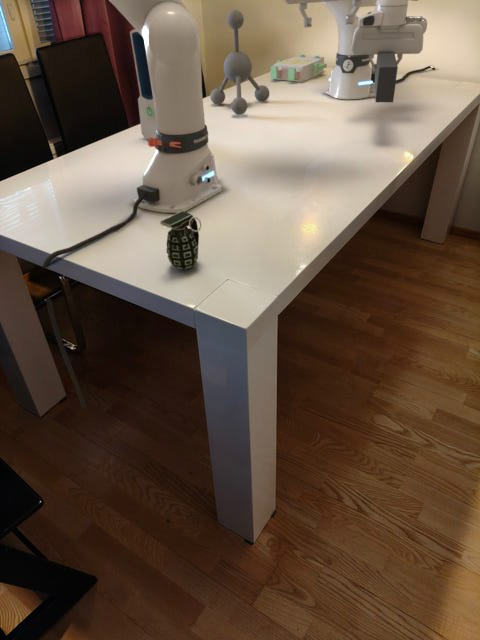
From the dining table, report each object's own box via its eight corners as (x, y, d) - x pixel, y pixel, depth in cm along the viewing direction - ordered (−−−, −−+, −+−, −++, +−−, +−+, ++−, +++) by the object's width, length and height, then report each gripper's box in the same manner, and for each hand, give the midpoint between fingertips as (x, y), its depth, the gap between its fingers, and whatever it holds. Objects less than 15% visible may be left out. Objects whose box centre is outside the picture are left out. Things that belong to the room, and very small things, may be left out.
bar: (393, 102, 130) (397, 66, 125) (375, 102, 131) (379, 67, 126) (389, 79, 151) (393, 48, 146) (374, 80, 152) (377, 49, 147)
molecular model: (288, 106, 174) (289, 7, 156) (237, 118, 165) (232, 15, 147) (250, 94, 190) (247, 3, 172) (202, 105, 181) (193, 10, 163)
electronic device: (141, 137, 154) (123, 28, 136) (159, 131, 158) (144, 24, 140) (166, 145, 147) (151, 30, 129) (185, 138, 151) (172, 26, 133)
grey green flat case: (293, 53, 221) (333, 55, 211) (293, 68, 225) (332, 72, 215) (262, 63, 205) (303, 67, 195) (262, 80, 209) (303, 84, 199)
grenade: (182, 278, 88) (175, 228, 82) (162, 268, 91) (153, 219, 85) (208, 263, 92) (203, 214, 85) (187, 253, 95) (181, 205, 89)
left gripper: (378, -56, 102) (370, 20, 111) (281, -50, 101) (281, 26, 110) (387, -56, 97) (379, 24, 106) (286, -50, 96) (285, 30, 105)
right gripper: (427, 14, 139) (418, 68, 147) (354, 16, 143) (349, 69, 151) (429, 17, 134) (420, 72, 142) (353, 19, 138) (349, 73, 146)
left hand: (328, 25), depth 108 cm, fingers open, 8 cm apart
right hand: (383, 70), depth 147 cm, fingers closed on bar, 4 cm apart
